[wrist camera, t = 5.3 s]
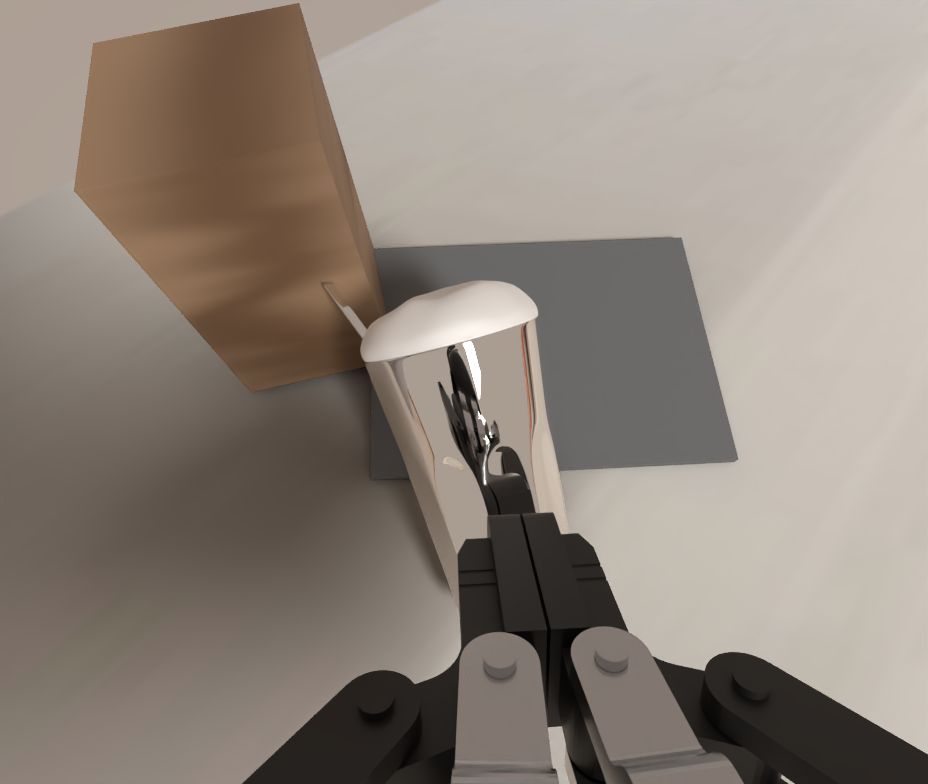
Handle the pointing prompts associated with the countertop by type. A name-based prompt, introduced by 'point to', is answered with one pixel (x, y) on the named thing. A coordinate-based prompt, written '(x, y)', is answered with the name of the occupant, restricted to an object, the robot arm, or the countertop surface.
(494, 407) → the milkshake
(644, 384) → the mat
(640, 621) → the countertop surface
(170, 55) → the walnut block
